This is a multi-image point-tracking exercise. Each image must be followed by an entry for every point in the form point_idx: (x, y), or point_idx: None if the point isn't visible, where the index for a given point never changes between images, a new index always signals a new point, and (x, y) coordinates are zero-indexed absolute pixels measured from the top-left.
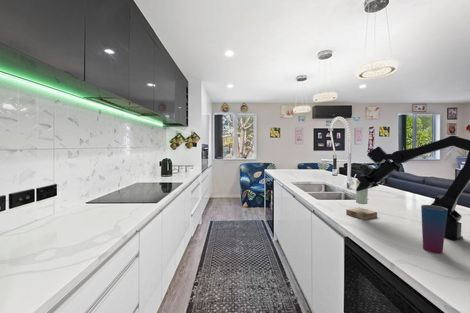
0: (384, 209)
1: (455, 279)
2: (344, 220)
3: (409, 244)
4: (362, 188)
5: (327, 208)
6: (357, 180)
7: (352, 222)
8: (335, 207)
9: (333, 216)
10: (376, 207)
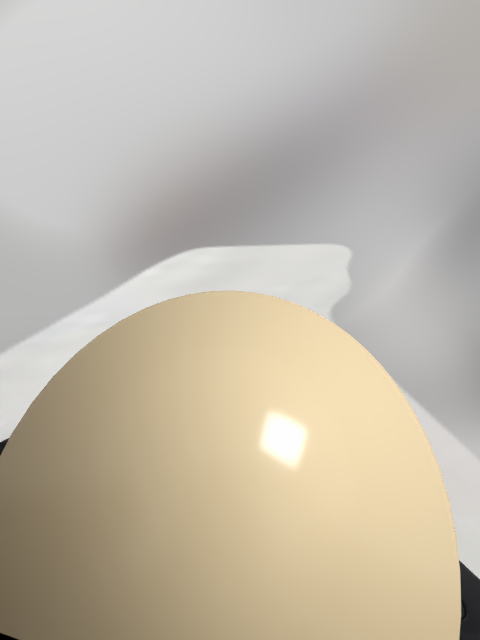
0: (467, 524)
1: None
2: (30, 386)
3: None
4: None
5: (227, 262)
6: (89, 347)
7: (5, 438)
8: (274, 286)
9: (86, 319)
10: (464, 464)
